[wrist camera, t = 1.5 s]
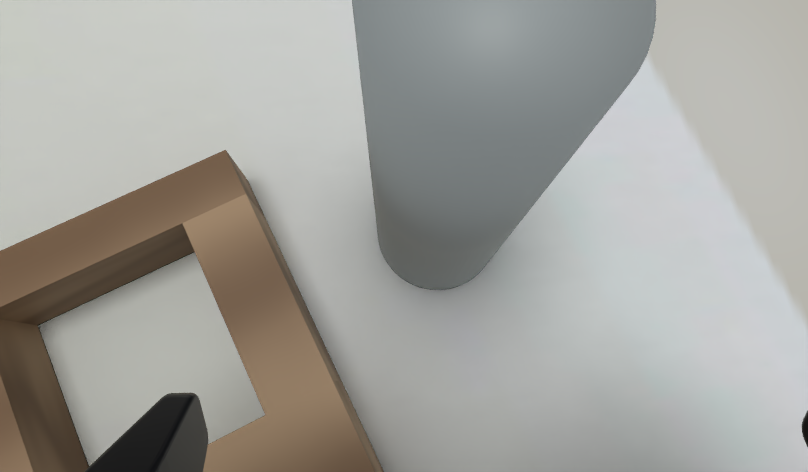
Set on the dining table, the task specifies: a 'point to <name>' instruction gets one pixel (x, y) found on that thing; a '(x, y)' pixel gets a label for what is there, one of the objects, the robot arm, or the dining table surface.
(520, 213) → the peg
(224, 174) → the socket block
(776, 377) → the dining table surface
